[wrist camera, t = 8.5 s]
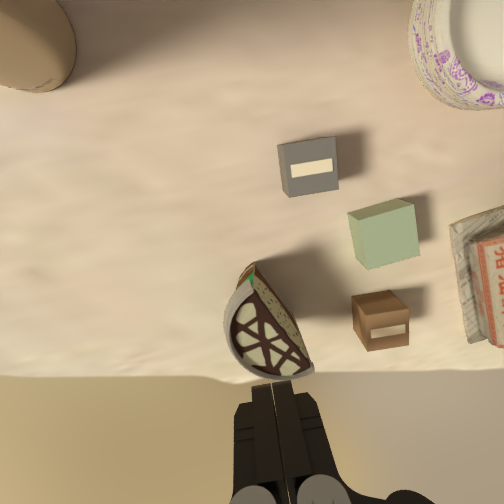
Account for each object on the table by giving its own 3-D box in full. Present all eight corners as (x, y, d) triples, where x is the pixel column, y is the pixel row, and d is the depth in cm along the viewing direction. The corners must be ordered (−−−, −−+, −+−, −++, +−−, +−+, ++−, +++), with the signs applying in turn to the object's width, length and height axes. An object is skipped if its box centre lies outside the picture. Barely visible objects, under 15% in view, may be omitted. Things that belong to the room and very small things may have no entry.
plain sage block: (346, 212, 37) (358, 220, 34) (395, 198, 37) (413, 204, 33) (355, 257, 39) (367, 270, 35) (402, 244, 39) (420, 255, 35)
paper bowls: (383, 115, 34) (425, 107, 26) (404, -64, 29) (462, -137, 21) (520, 113, 34) (599, 105, 27) (563, -63, 29) (674, -134, 22)
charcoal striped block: (276, 145, 34) (283, 145, 30) (322, 137, 34) (335, 136, 30) (282, 190, 36) (289, 197, 31) (325, 183, 36) (339, 189, 31)
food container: (206, 279, 39) (196, 321, 30) (246, 252, 38) (249, 287, 29) (261, 346, 43) (268, 404, 33) (299, 323, 42) (317, 376, 32)
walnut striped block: (351, 295, 41) (366, 316, 36) (389, 289, 41) (409, 309, 36) (353, 328, 42) (368, 352, 38) (389, 322, 42) (409, 345, 38)
